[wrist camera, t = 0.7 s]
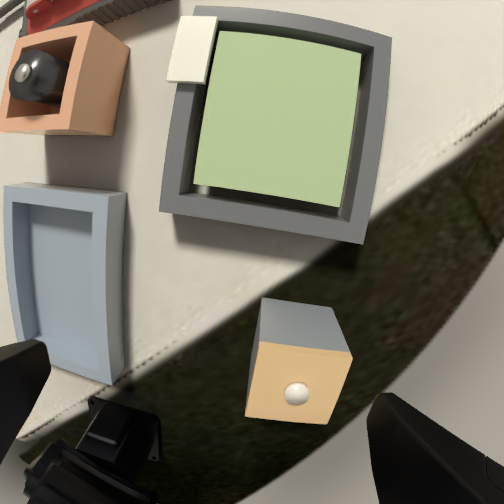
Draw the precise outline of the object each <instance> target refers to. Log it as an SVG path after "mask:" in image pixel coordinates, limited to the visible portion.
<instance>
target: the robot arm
mask: <svg viewBox="0 0 504 504" xmlns="http://www.w3.org/2000/svg"><path fill="white" fill-rule="evenodd" d="M50 372H51V364H50V359H49V354H48V350H47V346H46V344H45V343H44V342H43V341H40V340H37V339H29V340H26V341H22V342H18V343H14V344H10V345H6V346H2V347H0V464H1V463H2V461H3V459H4V457H5V455H6V454H7V451H8V450H9V448H10V447H11V445H12V443H13V441H14V440H15V438H16V436H17V435H18V433H19V431H20V430H21V428H22V426H23V425H24V423H25V421H26V420H27V418H28V416H29V415H30V413H31V411H32V409H33V407H34V405H35V403H36V401H37V399H38V397H39V395H40V393H41V391H42V389H43V387H44V385H45V383H46V381H47V379H48V377H49V375H50ZM88 406H89V411H90V415H91V420H92V422H91V424H90V425H89V427H88V429H87V430H86V432H85V434H84V436H83V437H82V439H81V440H80V442H79V444H78V445H77V447H76V448H75V449H74V448H73V447H71V446H70V445H68V444H67V443H65V441H64V440H63V439H61V438H59V439H58V440H57V441H56V442H55V443H54V442H49V443H48V445H47V446H46V447H45V449H44V450H43V452H42V453H41V454H40V455H39V456H38V457H37V458H36V459H35V460H34V461H33V462H32V463H31V464H30V465H29V466H28V467H27V468H26V469H25V471H24V476H25V479H26V482H25V489H24V492H23V494H24V495H25V496H27V497H28V498H29V501H28V503H27V504H156V502H157V496H158V494H157V493H155V492H153V491H148V490H146V489H144V488H142V487H140V486H138V482H139V480H140V477H141V475H142V472H143V470H144V467H145V464H146V462H147V459H149V460H153V461H159V458H160V446H159V426H158V418H157V416H155V415H154V414H150V413H147V412H143V411H139V410H136V409H132V408H129V407H125V406H122V405H119V404H116V403H112V402H109V401H106V400H103V399H100V398H97V397H94V396H90V397H89V398H88ZM367 431H368V439H369V448H370V457H371V465H372V472H373V477H374V481H375V486H376V490H377V495H378V499H379V504H504V467H503V466H502V465H500V464H498V463H497V462H495V461H494V460H492V459H490V458H489V457H488V456H486V457H485V455H484V454H483V453H481V452H480V451H478V450H477V449H475V448H473V447H472V446H470V445H469V444H467V443H466V442H464V441H463V440H461V439H460V438H458V437H457V436H455V435H454V434H452V433H451V432H449V431H448V430H446V429H445V428H443V427H442V426H440V425H439V424H437V423H436V422H434V421H433V420H431V419H430V418H428V417H427V416H426V415H424V414H422V413H421V412H420V411H418V410H417V409H415V408H414V407H412V406H411V405H410V404H408V403H407V402H405V401H404V400H402V399H401V398H399V397H398V396H397V395H395V394H394V393H379V394H377V395H376V397H375V399H374V402H373V404H372V407H371V409H370V411H369V414H368V416H367Z"/></svg>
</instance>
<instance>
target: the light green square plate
mask: <svg viewBox="0 0 504 504" xmlns="http://www.w3.org/2000/svg"><path fill="white" fill-rule="evenodd" d="M360 63H361V54H360V53H356V52H352V51H348V50H344V49H340V48H336V47H331V46H327V45H322V44H317V43H312V42H307V41H302V40H296V39H290V38H283V37H277V36H269V35H261V34H252V33H242V32H229V31H220V32H219V37H218V41H217V46H216V51H215V56H214V61H213V66H212V71H211V76H210V82H209V87H208V92H207V98H206V104H205V109H204V115H203V121H202V127H201V134H200V140H199V147H198V153H197V160H196V167H195V174H194V182H193V184H199V185H207V186H214V187H221V188H228V189H235V190H242V191H248V192H255V193H261V194H267V195H273V196H279V197H285V198H291V199H297V200H302V201H308V202H313V203H319V204H324V205H330V206H335V207H340V202H341V197H342V191H343V186H344V180H345V174H346V168H347V162H348V156H349V149H350V143H351V136H352V129H353V122H354V115H355V107H356V99H357V91H358V82H359V73H360Z"/></svg>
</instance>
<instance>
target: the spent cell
mask: <svg viewBox="0 0 504 504" xmlns="http://www.w3.org/2000/svg"><path fill="white" fill-rule="evenodd" d="M69 65H70V63H69V62H66V61H64V60H62V59H59V58H57V57H55V56H52V55H50V54H48V53H45V52H43V51H40V50H38V49H33V50H29V51H27V52H26V53H24V54H23V55H22V56H21V57H20V58H19V59H18V61H17V62H16V63H15V65H14V67H13V69H12V71H11V74H10V78H9V91H10V94H11V96H12V97H13V98H15V99H18V100H24V101H29V102H34V103H39V104H44V105H49V106H54V107H59V108H61V102H62V97H63V92H64V87H65V82H66V78H67V73H68V69H69Z"/></svg>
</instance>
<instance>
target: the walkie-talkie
mask: <svg viewBox="0 0 504 504" xmlns="http://www.w3.org/2000/svg"><path fill="white" fill-rule="evenodd" d="M23 1H25V5H24V14H23V24H22V28H21V30H20V32H19V38H20V37H24V36H27V35H31V34H34V33H38V32H42V31H46V30H50V29H54V28H58V27H63V26H67V25H72V24H77V23H83V22H88V21H95V22H96V23H98V24H99V25H100V26H101V25H106V23H108V22H113V20H115V19H117V20H118V19H120V17H122V16H124V17H125V16H127V14H130V13H131V14H133V13H134V12H135V11H138V10H139V11H141V10H142V9H144V8H149V6H152V5H154V6H155V5H157V4H158V3H164V2H165V1H168V0H10V1H8V2H7V3H6V4H4V5H3V6H2V7H1V8H0V18H2V17H3V16H4V15H5V14H7V13H8V12H9V11H11V10H12V9H14V8H15V7H16V6H18V5H19V4H20V3H22V2H23ZM170 1H171V0H170Z"/></svg>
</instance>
